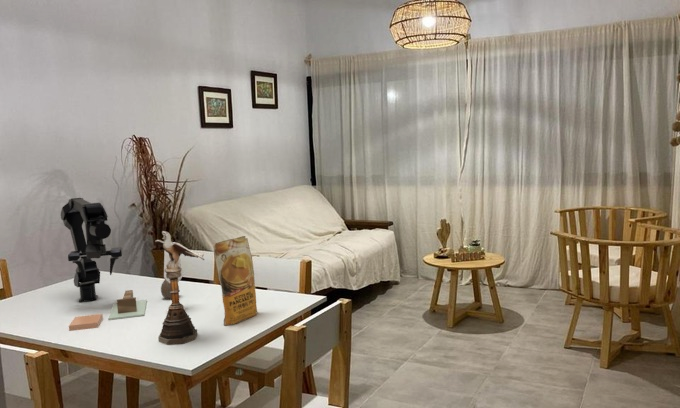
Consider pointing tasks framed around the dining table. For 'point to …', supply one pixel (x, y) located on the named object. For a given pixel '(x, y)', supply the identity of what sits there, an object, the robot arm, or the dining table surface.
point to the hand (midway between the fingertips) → (97, 276)
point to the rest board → (140, 312)
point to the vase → (166, 289)
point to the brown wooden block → (127, 303)
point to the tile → (86, 322)
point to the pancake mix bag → (236, 279)
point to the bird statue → (176, 297)
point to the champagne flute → (166, 260)
